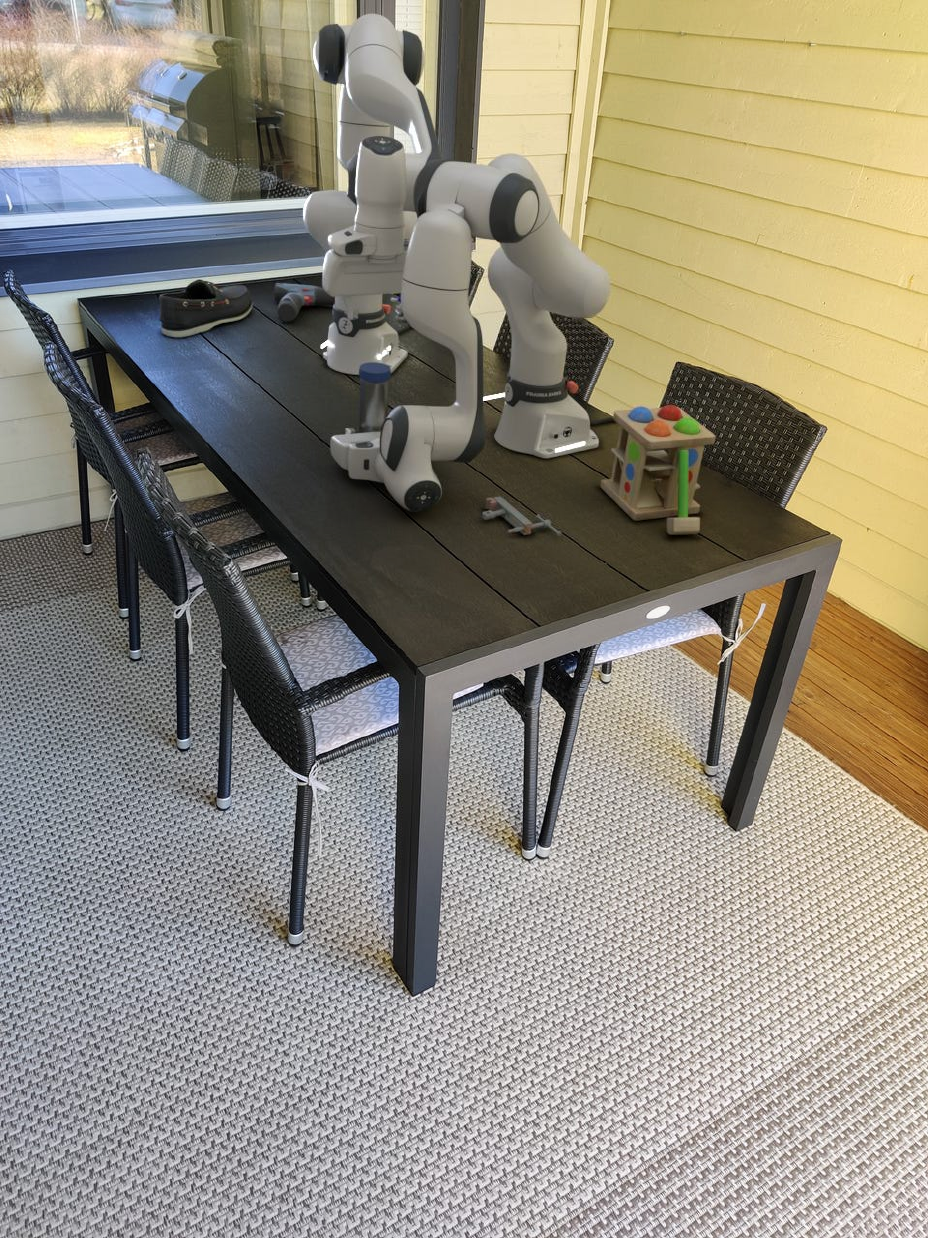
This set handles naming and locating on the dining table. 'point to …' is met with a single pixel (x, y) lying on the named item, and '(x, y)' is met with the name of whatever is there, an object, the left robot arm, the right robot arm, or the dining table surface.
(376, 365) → the lid
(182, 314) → the boat shoe
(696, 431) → the pounding bench toy
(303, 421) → the dining table surface
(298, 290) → the power drill
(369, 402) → the dark grey bottle
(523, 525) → the clamp
